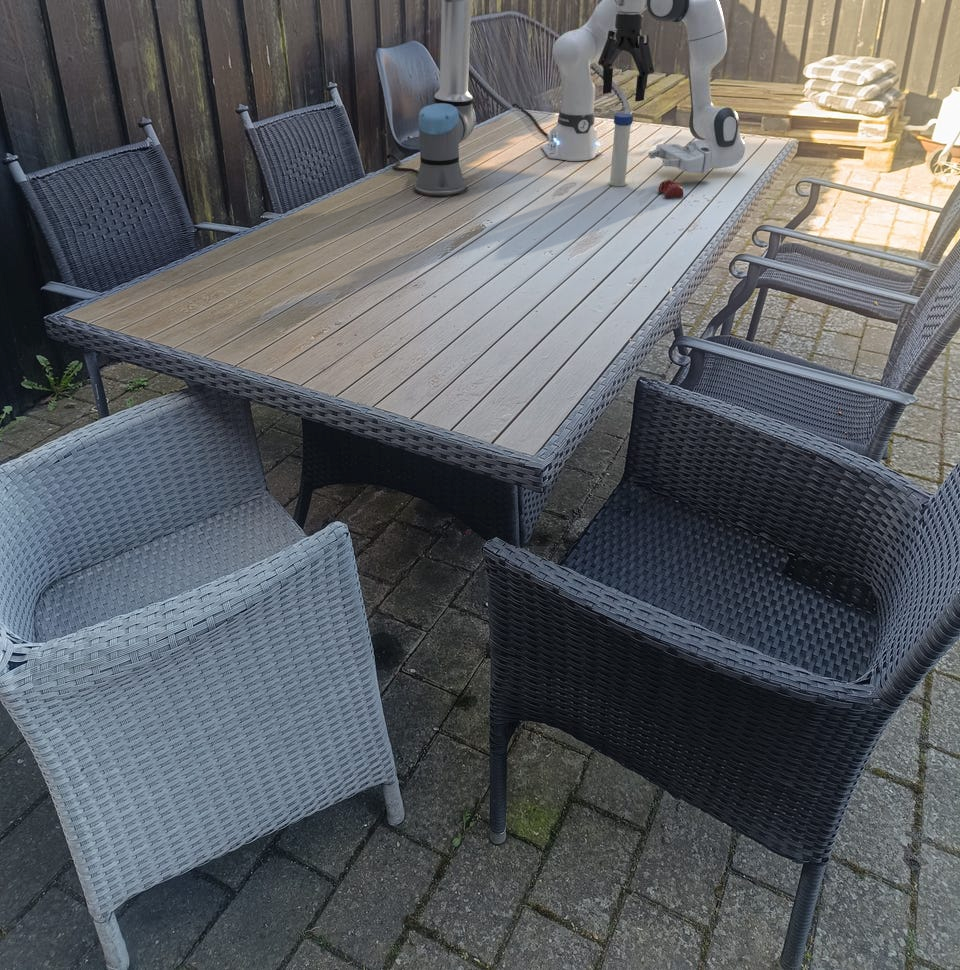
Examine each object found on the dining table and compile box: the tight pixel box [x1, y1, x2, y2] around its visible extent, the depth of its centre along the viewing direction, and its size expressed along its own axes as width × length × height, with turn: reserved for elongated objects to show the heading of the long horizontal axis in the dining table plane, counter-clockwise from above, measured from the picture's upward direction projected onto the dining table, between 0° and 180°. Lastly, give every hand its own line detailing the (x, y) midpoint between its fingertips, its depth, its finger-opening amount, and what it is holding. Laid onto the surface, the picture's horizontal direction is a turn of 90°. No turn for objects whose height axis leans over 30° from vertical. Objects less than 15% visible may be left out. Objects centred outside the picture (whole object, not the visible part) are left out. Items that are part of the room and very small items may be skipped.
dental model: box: [657, 179, 684, 199], centre depth 253 cm, size 6×4×8 cm
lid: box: [613, 112, 634, 126], centre depth 252 cm, size 6×6×2 cm
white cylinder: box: [609, 124, 632, 187], centre depth 257 cm, size 5×5×20 cm
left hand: (622, 97), depth 242 cm, fingers open, 13 cm apart
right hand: (656, 159), depth 263 cm, fingers open, 8 cm apart
